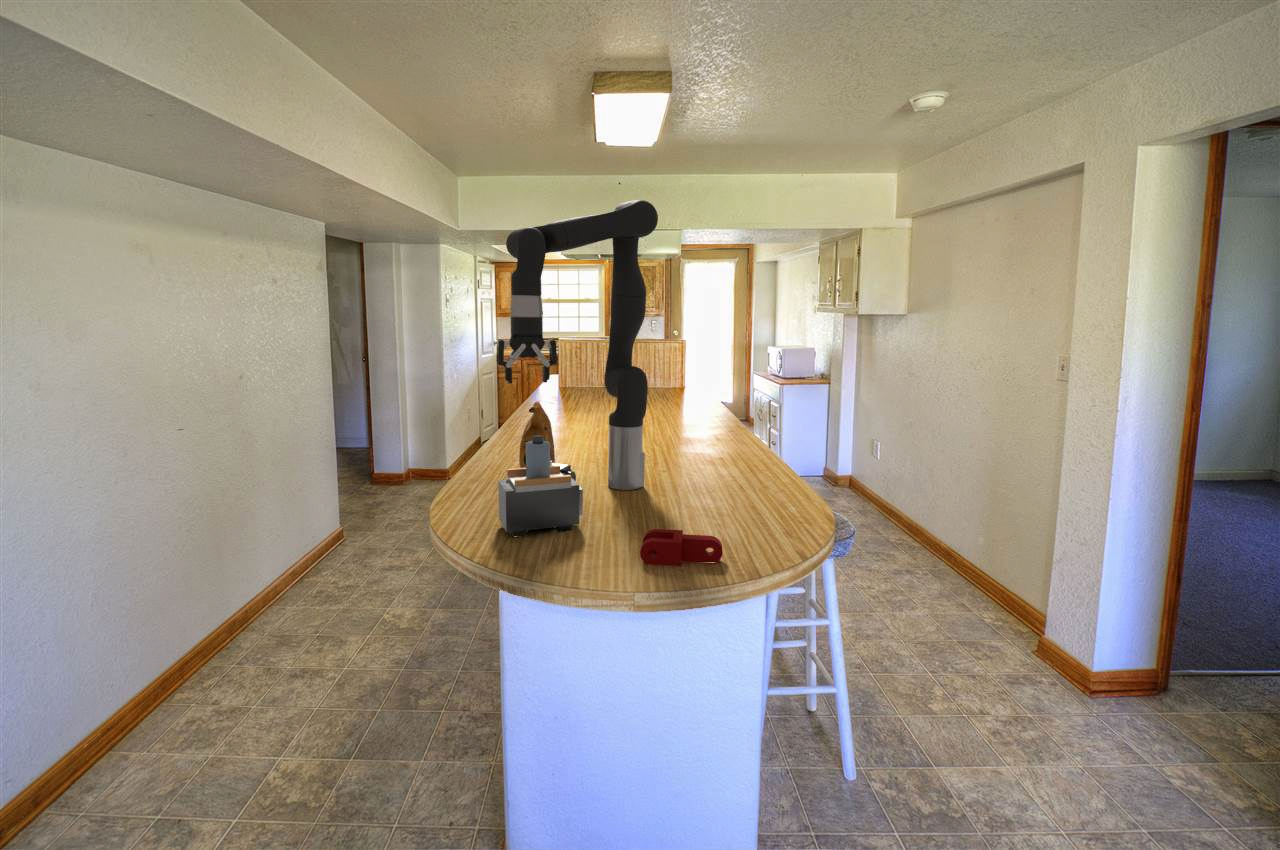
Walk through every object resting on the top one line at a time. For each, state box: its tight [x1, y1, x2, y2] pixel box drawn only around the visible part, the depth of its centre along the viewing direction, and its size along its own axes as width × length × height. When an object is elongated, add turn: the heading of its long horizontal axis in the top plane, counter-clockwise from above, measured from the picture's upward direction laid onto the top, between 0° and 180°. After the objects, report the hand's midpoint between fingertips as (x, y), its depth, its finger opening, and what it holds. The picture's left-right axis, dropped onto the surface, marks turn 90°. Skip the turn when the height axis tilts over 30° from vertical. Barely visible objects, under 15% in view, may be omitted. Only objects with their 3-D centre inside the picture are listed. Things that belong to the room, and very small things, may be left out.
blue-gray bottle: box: [526, 435, 550, 478], centre depth 143 cm, size 5×5×10 cm
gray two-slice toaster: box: [497, 465, 584, 538], centre depth 145 cm, size 17×10×13 cm, turn 112°
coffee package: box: [518, 401, 556, 468], centre depth 181 cm, size 10×12×22 cm
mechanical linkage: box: [639, 528, 724, 567], centre depth 130 cm, size 16×7×5 cm, turn 85°
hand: (527, 382), depth 159 cm, fingers open, 8 cm apart
